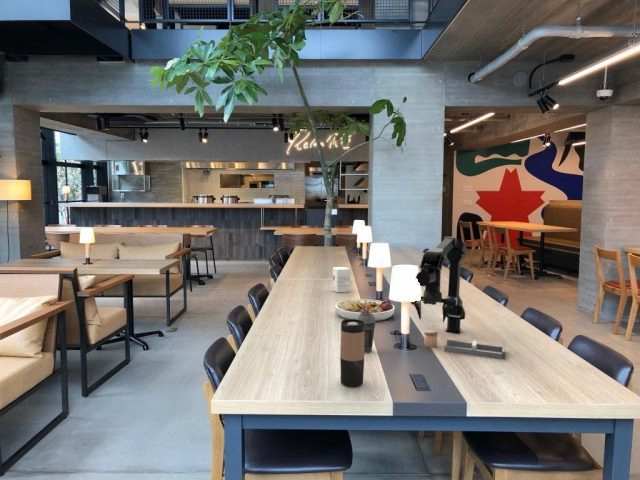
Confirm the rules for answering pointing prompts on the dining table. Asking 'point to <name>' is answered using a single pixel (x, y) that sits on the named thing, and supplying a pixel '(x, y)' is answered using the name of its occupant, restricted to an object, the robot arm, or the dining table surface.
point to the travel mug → (352, 352)
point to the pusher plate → (474, 345)
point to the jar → (430, 338)
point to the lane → (474, 351)
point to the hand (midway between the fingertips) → (431, 320)
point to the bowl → (357, 306)
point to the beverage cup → (368, 329)
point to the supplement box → (341, 279)
